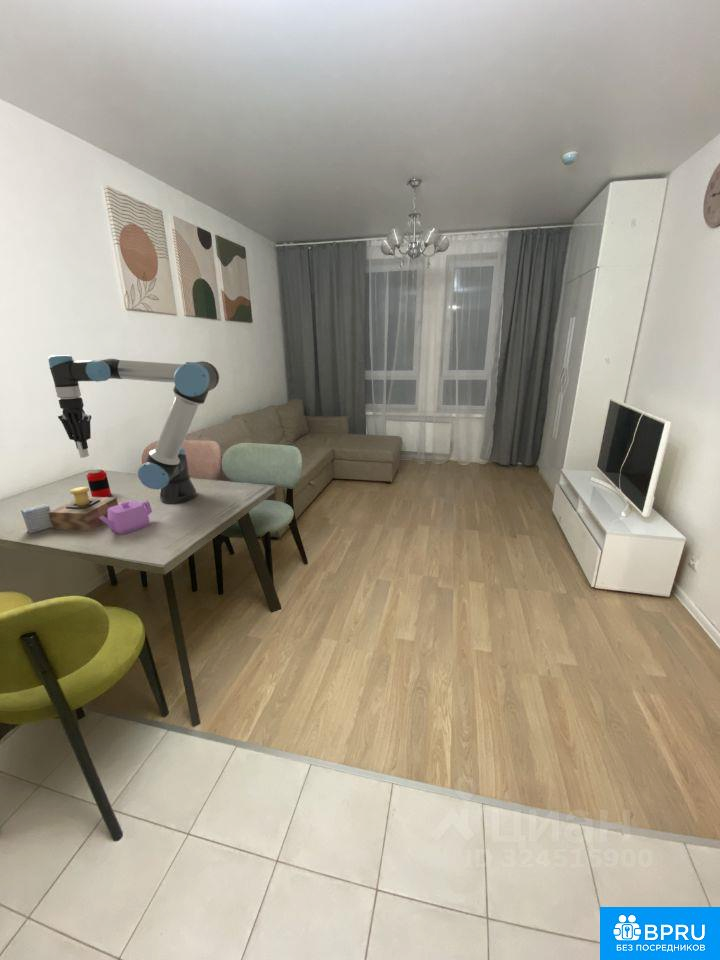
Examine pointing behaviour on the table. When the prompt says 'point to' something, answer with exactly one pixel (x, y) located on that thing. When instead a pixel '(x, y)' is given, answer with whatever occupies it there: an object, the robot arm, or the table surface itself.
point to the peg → (81, 495)
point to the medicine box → (37, 518)
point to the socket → (81, 514)
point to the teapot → (128, 516)
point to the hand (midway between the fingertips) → (84, 456)
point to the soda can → (98, 483)
